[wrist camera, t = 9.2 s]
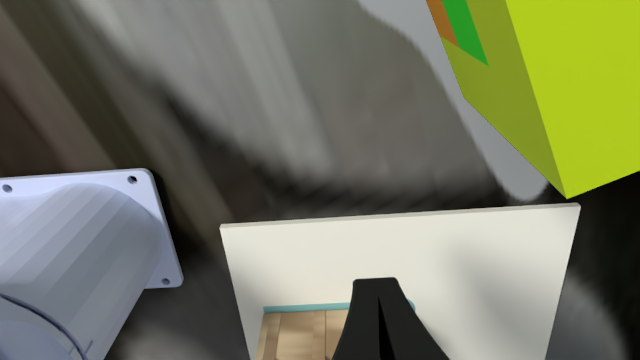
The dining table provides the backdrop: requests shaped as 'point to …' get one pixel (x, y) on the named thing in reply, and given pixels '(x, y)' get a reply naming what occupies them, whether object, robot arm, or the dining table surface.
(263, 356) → the fence fixed panel
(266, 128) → the dining table surface
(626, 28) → the puzzle toy
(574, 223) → the mat
